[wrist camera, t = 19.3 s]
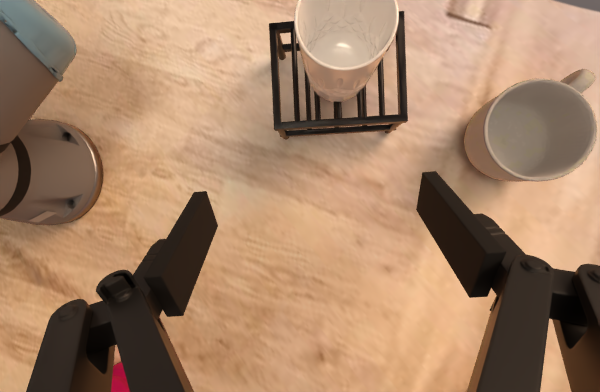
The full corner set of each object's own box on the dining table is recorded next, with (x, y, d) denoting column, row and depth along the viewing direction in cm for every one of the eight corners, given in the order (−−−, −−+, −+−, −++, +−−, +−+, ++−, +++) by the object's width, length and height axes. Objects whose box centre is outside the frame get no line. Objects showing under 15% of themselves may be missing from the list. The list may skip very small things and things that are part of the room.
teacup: (485, 198, 37) (530, 202, 29) (435, 134, 37) (466, 120, 29) (575, 133, 36) (649, 118, 28) (523, 68, 36) (581, 34, 28)
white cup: (386, 56, 30) (418, -7, 20) (351, 120, 31) (365, 88, 21) (324, 24, 31) (326, -54, 21) (290, 87, 31) (275, 40, 21)
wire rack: (282, 139, 39) (274, 129, 32) (278, 53, 38) (268, 23, 31) (391, 133, 37) (407, 121, 30) (388, 43, 37) (404, 10, 30)
